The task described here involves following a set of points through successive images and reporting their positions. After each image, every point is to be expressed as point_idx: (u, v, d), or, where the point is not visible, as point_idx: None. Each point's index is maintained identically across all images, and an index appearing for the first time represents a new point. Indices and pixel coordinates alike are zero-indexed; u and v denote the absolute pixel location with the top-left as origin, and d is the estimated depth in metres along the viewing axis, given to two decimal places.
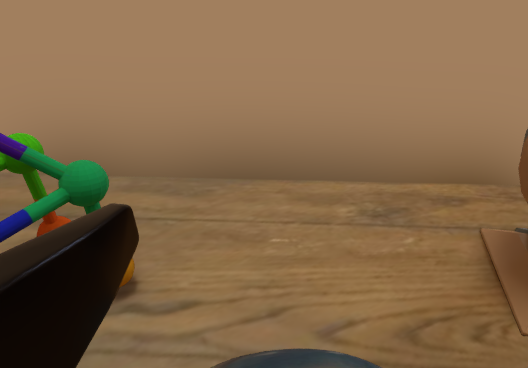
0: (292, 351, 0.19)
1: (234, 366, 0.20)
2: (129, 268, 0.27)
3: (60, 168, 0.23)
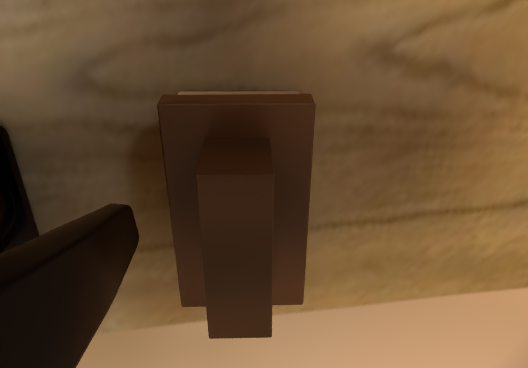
0: None
1: None
2: None
3: None
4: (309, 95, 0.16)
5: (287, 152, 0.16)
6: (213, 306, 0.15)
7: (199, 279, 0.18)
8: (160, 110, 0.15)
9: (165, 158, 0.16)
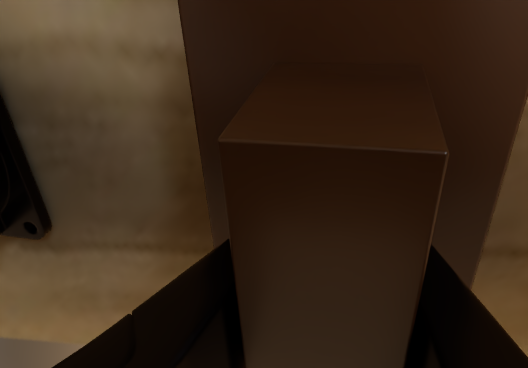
0: None
1: None
2: None
3: None
4: None
5: (460, 102, 0.07)
6: None
7: None
8: None
9: (195, 104, 0.08)
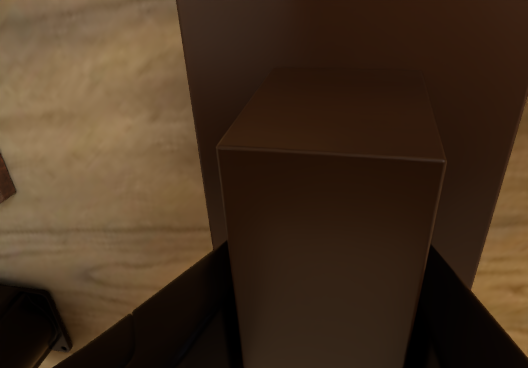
0: None
1: None
2: None
3: None
4: None
5: (459, 107, 0.07)
6: None
7: None
8: (180, 0, 0.07)
9: (195, 108, 0.08)
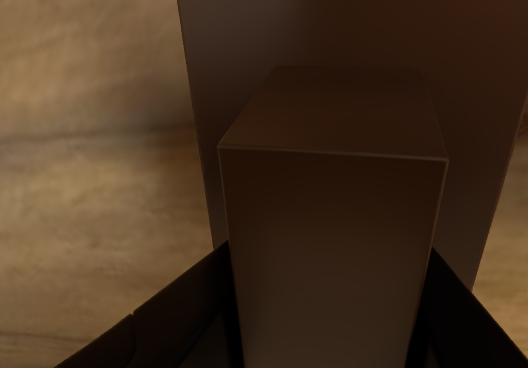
0: None
1: None
2: None
3: None
4: None
5: (461, 106, 0.07)
6: None
7: None
8: None
9: (195, 107, 0.08)
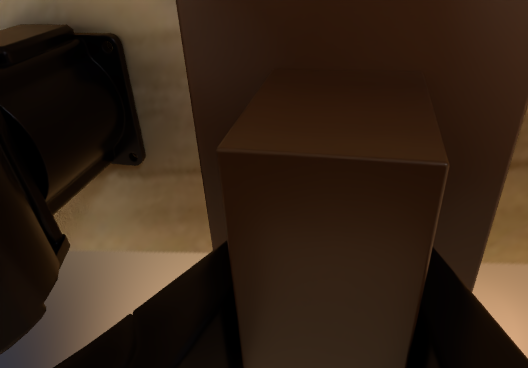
0: None
1: None
2: None
3: None
4: None
5: (461, 108, 0.07)
6: None
7: None
8: (180, 1, 0.07)
9: (195, 109, 0.08)
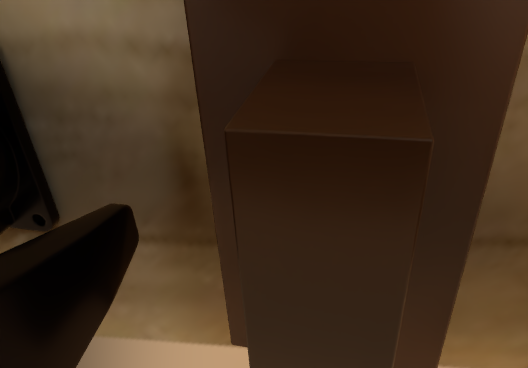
0: None
1: None
2: None
3: None
4: None
5: (449, 97, 0.07)
6: None
7: None
8: None
9: (200, 99, 0.08)
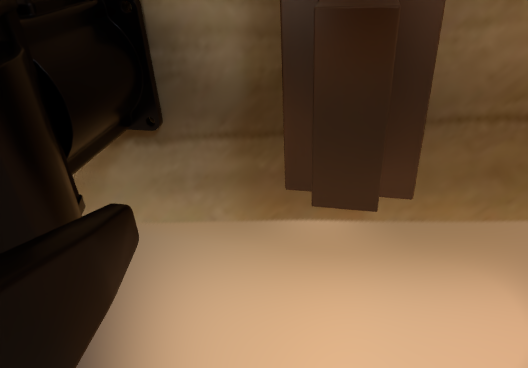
0: None
1: None
2: None
3: None
4: None
5: (414, 9, 0.14)
6: (319, 168, 0.15)
7: (305, 159, 0.18)
8: None
9: (282, 17, 0.15)
